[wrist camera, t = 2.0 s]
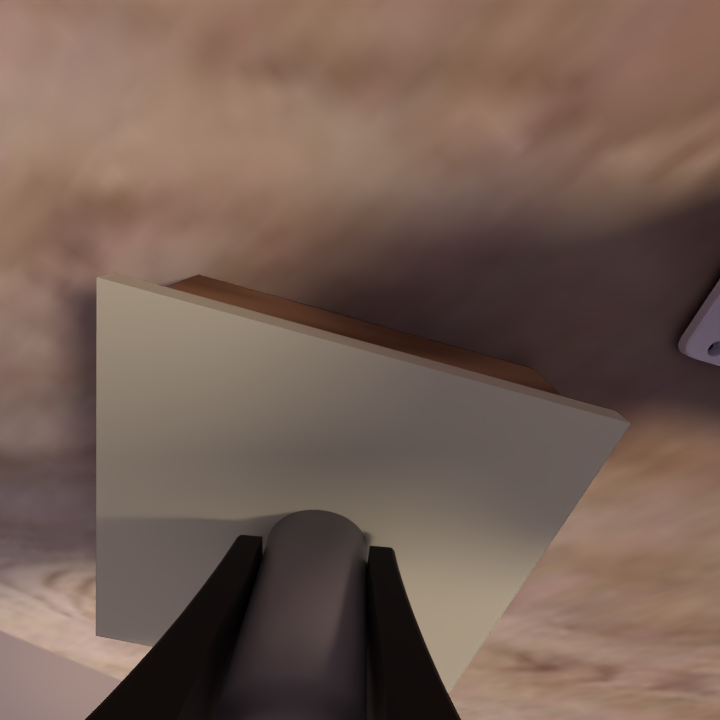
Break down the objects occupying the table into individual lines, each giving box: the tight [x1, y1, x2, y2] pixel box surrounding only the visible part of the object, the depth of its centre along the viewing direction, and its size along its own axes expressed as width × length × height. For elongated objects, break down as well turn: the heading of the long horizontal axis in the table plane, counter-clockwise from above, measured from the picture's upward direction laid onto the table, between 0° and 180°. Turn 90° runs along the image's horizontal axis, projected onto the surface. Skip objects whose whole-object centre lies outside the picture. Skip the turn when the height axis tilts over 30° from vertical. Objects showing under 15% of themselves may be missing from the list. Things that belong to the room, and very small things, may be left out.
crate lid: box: [96, 273, 631, 720], centre depth 9 cm, size 13×13×5 cm
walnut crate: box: [168, 275, 562, 396], centre depth 13 cm, size 12×12×4 cm
